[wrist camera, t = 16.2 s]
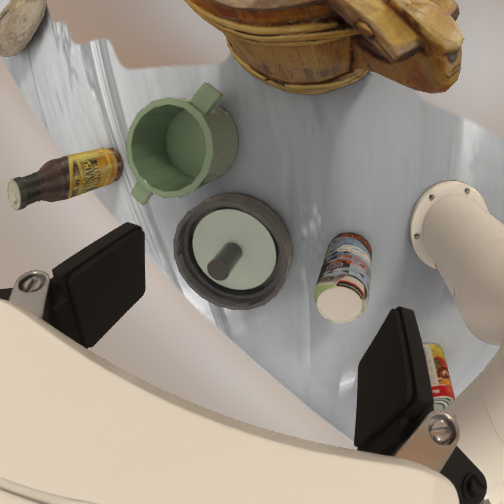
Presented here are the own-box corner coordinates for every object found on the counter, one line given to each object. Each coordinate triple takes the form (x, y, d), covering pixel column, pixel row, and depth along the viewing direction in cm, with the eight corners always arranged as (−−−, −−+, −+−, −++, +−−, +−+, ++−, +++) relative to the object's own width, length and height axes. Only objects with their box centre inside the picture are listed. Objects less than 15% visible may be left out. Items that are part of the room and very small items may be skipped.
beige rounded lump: (46, -19, 26) (15, -23, 17) (63, 6, 30) (27, 1, 21) (12, 37, 34) (-18, 38, 26) (25, 69, 38) (-9, 73, 29)
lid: (296, 252, 39) (288, 276, 33) (240, 299, 46) (226, 325, 40) (229, 188, 38) (208, 201, 32) (181, 245, 44) (159, 265, 38)
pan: (316, 250, 39) (313, 266, 35) (243, 309, 47) (235, 326, 43) (229, 168, 37) (217, 174, 33) (170, 243, 45) (155, 255, 42)
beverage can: (379, 245, 36) (392, 295, 26) (346, 283, 40) (345, 339, 29) (343, 219, 36) (345, 260, 26) (312, 259, 40) (300, 310, 29)
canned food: (416, 378, 44) (422, 429, 33) (394, 359, 43) (399, 414, 33) (449, 356, 40) (462, 408, 29) (430, 335, 39) (444, 390, 29)
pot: (270, 121, 33) (251, 121, 26) (194, 210, 42) (164, 231, 34) (205, 69, 32) (172, 60, 25) (142, 161, 40) (105, 173, 33)
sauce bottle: (122, 186, 43) (27, 231, 26) (97, 177, 44) (6, 215, 27) (127, 148, 40) (23, 180, 23) (101, 141, 41) (2, 169, 24)
